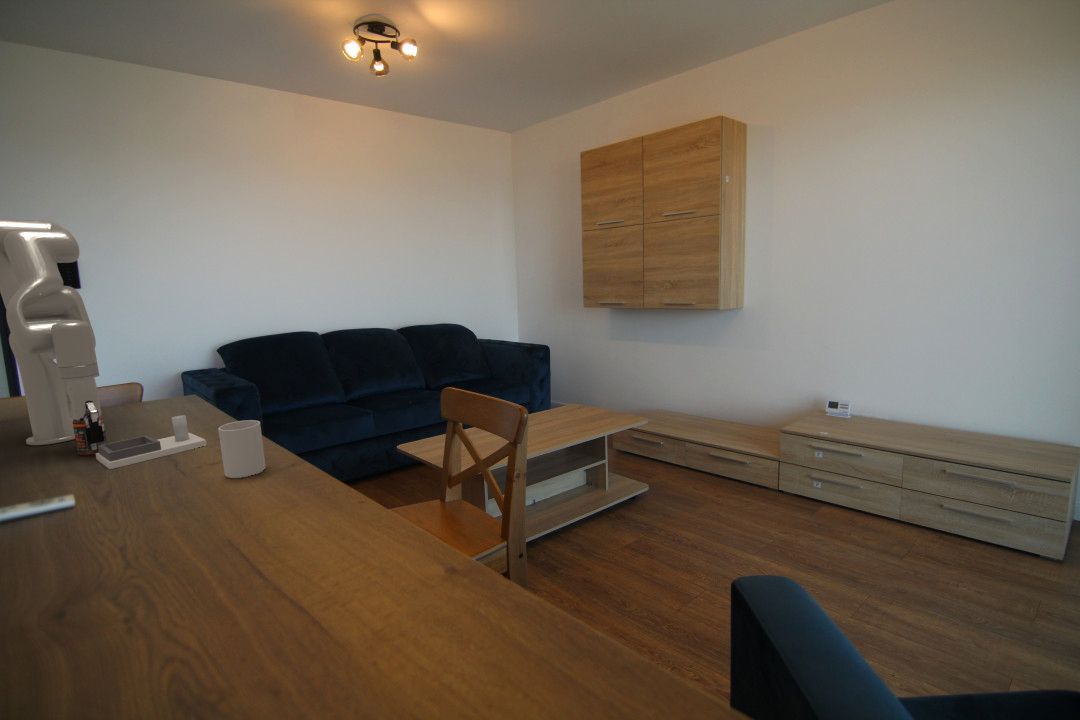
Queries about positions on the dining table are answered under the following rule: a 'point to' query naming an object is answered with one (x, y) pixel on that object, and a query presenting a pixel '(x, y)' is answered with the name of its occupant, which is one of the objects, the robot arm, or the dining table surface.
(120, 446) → the framed tray with peg
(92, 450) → the supplement bottle
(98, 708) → the dining table surface
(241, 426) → the mug
